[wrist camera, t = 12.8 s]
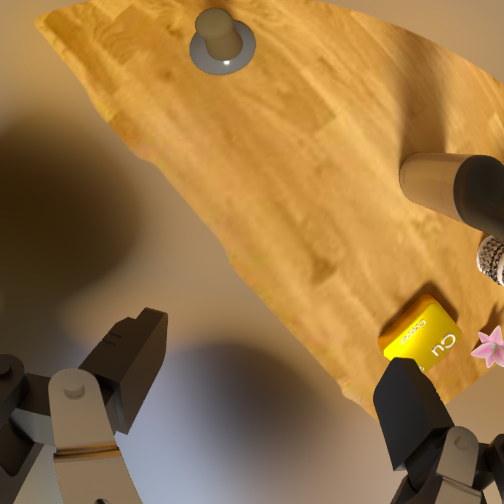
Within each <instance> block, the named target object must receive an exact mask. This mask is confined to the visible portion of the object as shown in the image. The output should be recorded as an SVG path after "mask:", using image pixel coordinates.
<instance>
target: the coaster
mask: <svg viewBox="0 0 504 504" xmlns="http://www.w3.org/2000/svg"><path fill="white" fill-rule="evenodd" d="M233 28H234V29H235V30H236V32H237V33H238V34H239V36H240V37H241V39H242V41H243V48H242V51H241V52H240V54H239V55H238V56H237V57H235V58H234V59H231V60H229V61H218V60H215V59H213V58H212V57H211V56H210V55H209V54H208V51H207V48H206V44H205V40H204V38H203V37H201V36H200V35H199V34H198V33H197V32H196V34H195V35H194V36H193V38H192V40H191V43H190V56H191V59H192V61H193V62H194V64H195V65H196V66H197V67H198V68H199V69H200V70H202V71H204V72H206V73H209V74H213V75H226V74H231V73H234V72H236V71H238V70H240V69H242V68H243V67H244V66H246V65H247V64H248V63H249V61H250V60H251V59H252V57H253V55H254V52H255V48H256V43H255V38H254V35H253V33H252V31H251V30H250V29H249V28H248V27H247V26H246V25H244V24H243V23H241V22H238V21H235V20H233Z"/></svg>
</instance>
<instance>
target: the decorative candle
mask: <svg viewBox="0 0 504 504" xmlns="http://www.w3.org/2000/svg"><path fill="white" fill-rule="evenodd" d="M476 262H477V267H478V269H479V270H480V271H481V272H482V273H485V275H488V274H489V278H491V279H493V280H494V282H497V283H498V285H502V286H504V242H502V241H500V240H499V239H497V238H495V237H493V236H488V237H486V238H485V239H484V240H483V242H482V243H481V244H480V246H479V249H478V251H477V256H476Z"/></svg>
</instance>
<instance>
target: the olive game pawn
mask: <svg viewBox="0 0 504 504" xmlns="http://www.w3.org/2000/svg"><path fill="white" fill-rule="evenodd" d="M195 29H196V31H197V33H198V34H199V35H200V36H201V37H203V38H204V40H205V44H206V48H207V51H208V54H209V55H210V56H211V57H212V58H213V59H215V60H218V61H229V60H231V59H234V58H235V57H237V56H238V55H239V54H240V52H241V51H242V48H243V41H242V39H241V37H240V36H239V34H238V33H237V32H236V30H235V29H234V28H233V18H232V16H231V14H229V13H228V12H227V11H226V10H224V9H222V8H209V9H207V10H205V11H203V12H202V13H200V14H199V16H198V17H197V19H196V21H195Z"/></svg>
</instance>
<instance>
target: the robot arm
mask: <svg viewBox="0 0 504 504" xmlns="http://www.w3.org/2000/svg"><path fill="white" fill-rule="evenodd" d="M399 180H400V186H401V189H402V191H403V193H404V194H405V196H406V197H407V198H408V199H409V200H410V201H412V202H413V203H416V204H419V205H421V206H423V207H426V208H428V209H431V210H433V211H436V212H438V213H441V214H443V215H445V216H448V217H450V218H452V219H455V220H457V221H460V222H462V223H464V224H466V225H469V226H471V227H473V228H476V229H478V230H480V231H483V232H485V233H487V234H489V235H491V236H493V237H495V238H497V239H499V240H500V241H502V242H504V165H503V164H502V163H501V162H500V161H498V160H497V159H495V158H493V157H491V156H486V155H472V154H453V153H429V152H419V153H414V154H411V155H410V156H409V157H407V158H406V160H405V161H404V162H403V164H402V166H401V169H400V175H399ZM167 326H168V314H167V313H165V312H161V311H158V310H155V309H151V308H147V307H146V308H144V310H143V311H142V312H141V313H140V315H139V316H138V317H137V318H136V319H133V318H130V317H127V318H125V319H124V320H121V321H119V322H117V323H116V324H115V325H114V326H113V327H112V328H111V329H110V331H109V332H108V334H106V335H105V336H104V338H103V339H102V341H100V342H99V344H98V345H97V346H96V347H95V348H94V349H93V351H92V352H91V353H90V354H89V355H88V357H87V358H86V359H85V360H84V361H83V363H82V364H81V365H80V366H79V367H78V369H65V370H62V371H60V372H58V373H56V374H55V375H54V376H53V377H52V378H49V377H44V376H39V375H34V374H29V373H26V371H25V368H24V365H23V363H22V362H21V360H20V359H18V358H17V357H15V356H13V355H8V354H1V355H0V504H13V503H14V501H15V498H16V496H17V495H18V492H19V490H20V488H21V486H22V485H23V483H24V481H25V479H26V477H27V475H28V473H29V471H30V469H31V467H32V466H33V464H34V462H35V460H36V458H37V456H38V455H39V453H40V451H41V449H42V447H43V446H44V444H47V445H51V446H55V447H56V453H54V454H53V462H54V467H55V472H56V476H57V480H58V485H59V489H60V492H61V496H62V499H63V503H64V504H143V503H142V501H141V499H140V497H139V495H138V493H137V491H136V488H135V486H134V484H133V482H132V479H131V477H130V474H129V472H128V470H127V467H126V464H125V462H124V459H123V457H122V454H121V452H120V449H119V447H118V446H117V444H116V441H115V438H114V435H115V433H116V431H119V432H121V433H124V434H128V432H129V430H130V428H131V426H132V424H133V422H134V420H135V418H136V416H137V414H138V412H139V410H140V408H141V406H142V404H143V401H144V400H145V398H146V396H147V394H148V392H149V390H150V388H151V386H152V384H153V382H154V380H155V378H156V376H157V374H158V372H159V370H160V368H161V366H162V364H163V361H164V357H165V353H166V340H167ZM440 399H441V398H440V396H439V395H438V393H436V389H435V387H434V386H433V384H432V382H431V381H430V380H429V379H428V378H427V377H426V376H425V375H424V374H423V373H422V372H421V370H420V368H419V366H418V365H417V363H416V361H415V360H414V359H412V358H402V357H394V358H393V359H392V360H391V362H390V363H389V365H388V367H387V369H386V371H385V372H384V374H383V376H382V378H381V379H380V381H379V383H378V385H377V386H376V388H375V391H374V395H373V403H374V406H375V409H376V412H377V415H378V419H379V422H380V425H381V428H382V432H383V435H384V438H385V442H386V445H387V449H388V452H389V455H390V459H391V463H392V466H393V470H394V471H401V470H407V472H408V474H407V475H406V476H405V477H404V478H403V479H402V481H401V483H400V485H399V487H398V489H397V491H396V493H395V495H394V497H393V499H392V501H391V503H390V504H487V502H486V499H485V496H484V493H483V490H484V489H485V488H486V487H487V486H489V485H490V484H491V483H492V482H493V481H494V480H495V482H496V484H497V487H498V490H499V492H500V496H501V499H502V504H504V434H499V435H498V436H496V438H495V439H494V440H493V441H492V442H491V443H490V444H485V443H478V440H477V438H476V436H475V435H474V434H473V433H472V432H471V431H470V430H469V429H467V428H464V427H461V426H455V425H454V423H453V421H452V419H451V417H450V415H449V413H448V412H447V409H446V408H445V406H444V404H443V402H442V400H440Z"/></svg>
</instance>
